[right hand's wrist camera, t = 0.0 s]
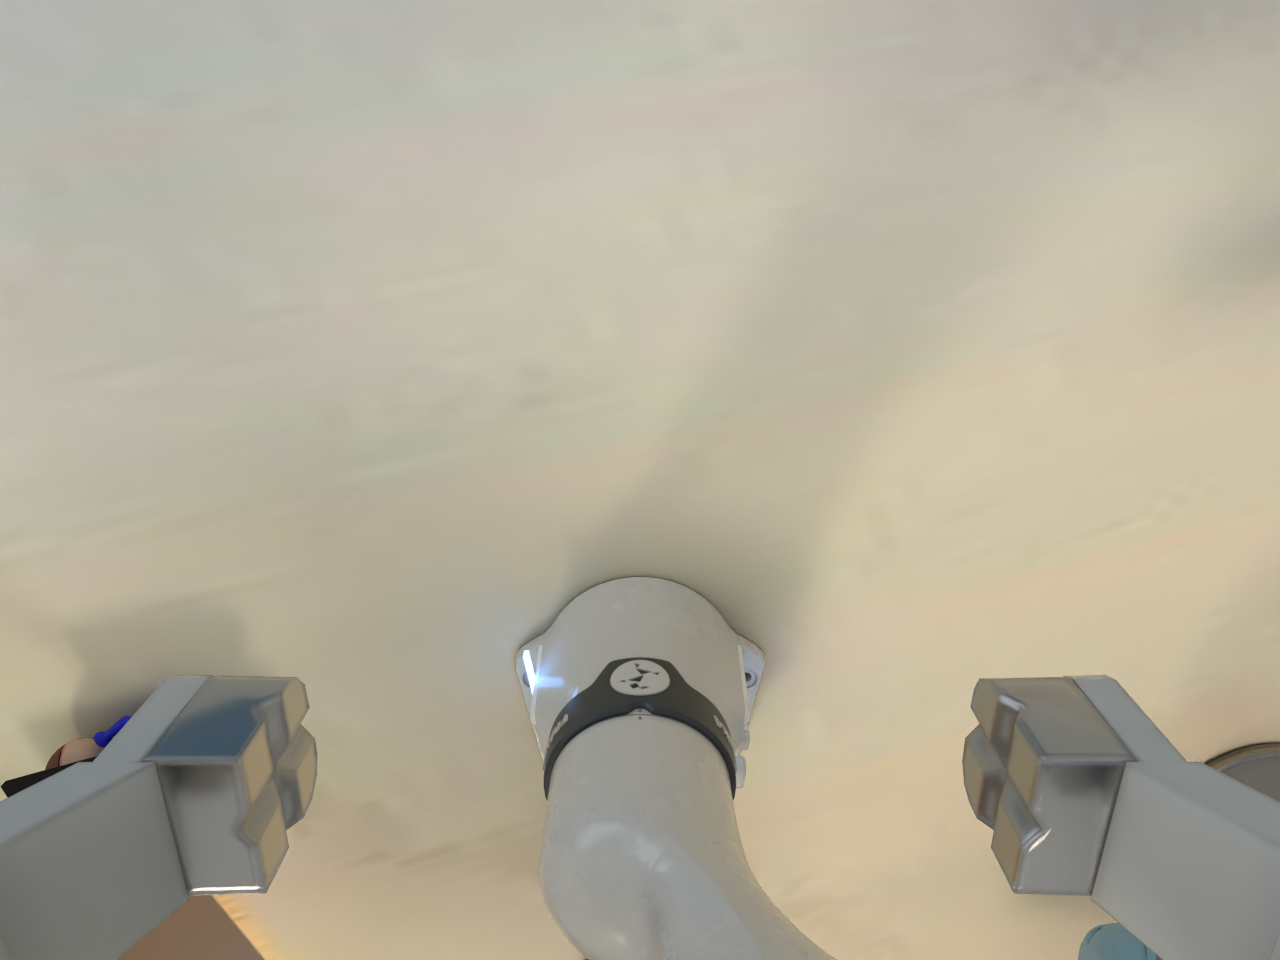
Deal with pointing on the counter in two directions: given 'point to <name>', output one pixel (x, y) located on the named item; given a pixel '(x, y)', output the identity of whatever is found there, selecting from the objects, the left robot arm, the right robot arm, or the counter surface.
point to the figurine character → (67, 758)
